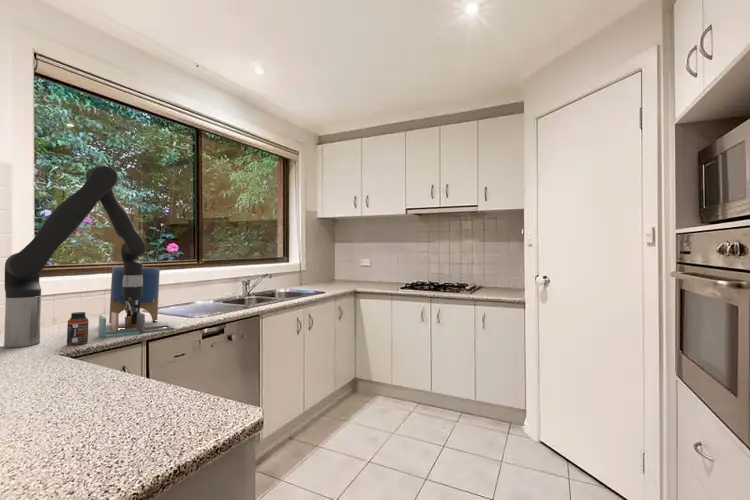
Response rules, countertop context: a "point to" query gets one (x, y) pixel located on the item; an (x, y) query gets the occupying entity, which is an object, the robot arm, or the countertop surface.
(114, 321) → the pale pink holder
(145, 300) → the planter
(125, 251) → the robot arm
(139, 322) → the gray bookend
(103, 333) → the tray teal
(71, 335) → the supplement bottle
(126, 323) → the letter cube
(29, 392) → the countertop surface
